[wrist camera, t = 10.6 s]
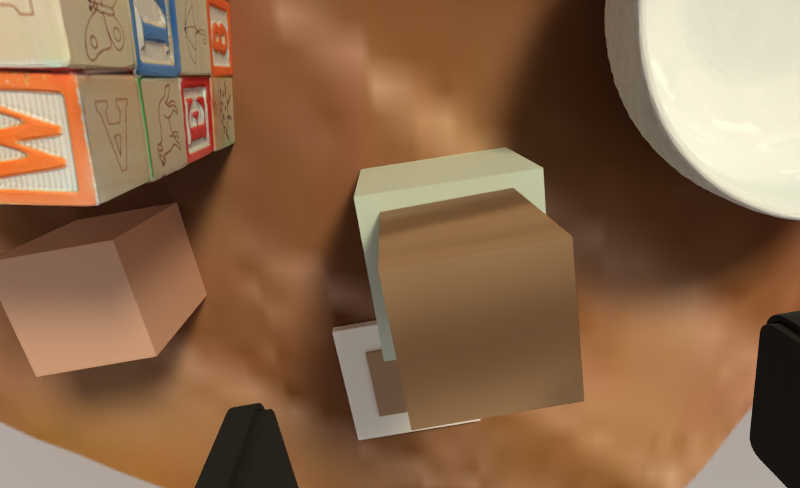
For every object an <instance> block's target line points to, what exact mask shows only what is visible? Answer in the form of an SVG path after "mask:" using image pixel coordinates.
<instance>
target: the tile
mask: <svg viewBox="0 0 800 488" xmlns="http://www.w3.org/2000/svg"><path fill="white" fill-rule="evenodd" d="M332 333H333V337H334V342H335V346H336V350H337V354H338V358H339V362H340V366H341V370H342V375H343V379H344V383H345V387H346V391H347V395H348V399H349V404H350V408H351V412H352V416H353V420H354V424H355V428H356V432H357V437H358V440H364V439H370V438H376V437H382V436H389V435H395V434H401V433H407V432H413V431H419V430H425V429H431V428H437V427H444V426H450V425H456V424H462V423H468V422H474V421H480V419H476V420H470V421H464V422H458V423H452V424H447V425H441V426H435V427H429V428H423V429H417V430H411V426H410V421H409V417H408V412H407V407H406V402H405V397H404V393H403V388H402V383H401V378H400V373H399V369H398V364H397V360H391V361H384V359H383V354H382V348H381V343H380V337H379V332H378V326H377V321H376V320H374V321H369V322H363V323H357V324H351V325H345V326H339V327H333V331H332Z"/></svg>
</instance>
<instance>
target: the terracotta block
mask: <svg viewBox="0 0 800 488" xmlns="http://www.w3.org/2000/svg"><path fill="white" fill-rule="evenodd" d="M206 296H207V294H206V291H205V288H204V285H203V282H202V279H201V276H200V273H199V269H198V266H197V263H196V260H195V257H194V254H193V251H192V248H191V245H190V242H189V239H188V236H187V233H186V229H185V226H184V223H183V220H182V217H181V214H180V211H179V208H178V205H177V202H175V203H170V204H164V205H158V206H153V207H147V208H141V209H136V210H130V211H124V212H119V213H113V214H108V215H102V216H96V217H91V218H85V219H79V220H75V221H73V222H71V223H69V224H67V225H65V226H62V227H60V228H58V229H56V230H54V231H51V232H49V233H47V234H45V235H43V236H40V237H38V238H36V239H34V240H32V241H29V242H27V243H25V244H23V245H21V246H18V247H16V248H14V249H12V250H10V251H7V252H5V253H3V254H1V255H0V301H1V303H2V306H3V308H4V310H5V312H6V314H7V316H8V318H9V320H10V322H11V325H12V327H13V329H14V331H15V333H16V335H17V337H18V339H19V341H20V344H21V346H22V348H23V350H24V352H25V354H26V356H27V358H28V360H29V362H30V365H31V367H32V369H33V371H34V373H35V375H36V377H38V376H44V375H50V374H56V373H62V372H68V371H74V370H80V369H86V368H91V367H97V366H103V365H109V364H115V363H121V362H127V361H133V360H138V359H144V358H150V357H156V356H157V355H158V354H159V353H160V352H161V351H162V349H163V348H164V347H165V346H166V344H167V343H168V342H169V341H170V340H171V338H172V337H173V336H174V335H175V333H176V332H177V331H178V330H179V329H180V327H181V326H182V325H183V324H184V322H185V321H186V320H187V319H188V318H189V316H190V315H191V314H192V313H193V312H194V310H195V309H196V308H197V307H198V305H199V304H200V303H201V302H202V301H203V299H204V298H205V297H206Z"/></svg>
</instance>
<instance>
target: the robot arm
mask: <svg viewBox="0 0 800 488" xmlns="http://www.w3.org/2000/svg"><path fill="white" fill-rule="evenodd" d="M750 442H751V446H752V448H753V450H754V452H755V454H756V455H757V456H758V458H759V459H760V460H761V461H762V462H763V463H764V464H765V465H766V466H767V467H768V468H769V469H770V470H771V471H772V472H773V473H774V474H775V475H776V476H777V477H778V478H779V479H780V481H781V482H782V483H783V484H784V485H785V486H786V487H787V488H800V311H795V312H789V313H783V314H777V315H774V316H771V317H770V318H769V320H768V321H767V324H766V325H764V326H763V327H762V328H761V331H760V338H759V348H758V358H757V368H756V378H755V388H754V398H753V408H752V418H751V428H750ZM195 488H298V485H297V482H296V479H295V476H294V472H293V469H292V466H291V463H290V460H289V457H288V454H287V450H286V447H285V444H284V441H283V438H282V435H281V432H280V429H279V425H278V422H277V419H276V416H275V413H274V411H273V410H272V409H268V410H265V409H264V407H263V405H262V404H260V403H256V404H251V405H245V406H239V407H233V408H230V409H229V410H228V412H227V414H226V416H225V418H224V421H223V423H222V425H221V428H220V430H219V432H218V435H217V437H216V439H215V442H214V444H213V446H212V449H211V451H210V453H209V456H208V458H207V460H206V463H205V465H204V467H203V470H202V472H201V474H200V477H199V479H198V481H197V484H196V486H195Z"/></svg>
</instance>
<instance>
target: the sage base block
mask: <svg viewBox="0 0 800 488" xmlns="http://www.w3.org/2000/svg"><path fill="white" fill-rule="evenodd" d="M509 188H514V189H516V190H517V191H518V192H519V193H520V194H522V195H523V196H524V197H525V198H526V199H528V200H529V201H530V202H531V203H533V204H534V205H535V206H536V207H537V208H539V209H540V210H541V211H542V212H543V213H545V214H546V206H545V189H544V171H543V167H541V166H539V165H537V164H535V163H533V162H532V161H530V160H528V159H526V158H524V157H523V156H521V155H519V154H517V153H515V152H514V151H512V150H510V149H508V148H506V147H503V148H496V149H490V150H483V151H477V152H470V153H464V154H458V155H451V156H445V157H438V158H432V159H425V160H419V161H412V162H406V163H400V164H393V165H387V166H380V167H374V168H367V169H361V171H360V175H359V179H358V182H357V186H356V190H355V194H354V202H355V207H356V212H357V218H358V223H359V229H360V234H361V240H362V245H363V250H364V256H365V261H366V267H367V272H368V278H369V283H370V288H371V294H372V299H373V305H374V310H375V316H376V321H377V326H378V332H379V337H380V343H381V348H382V354H383V359H384V361H391V360H397V359H396V354H395V349H394V345H393V340H392V335H391V330H390V325H389V321H388V316H387V311H386V306H385V301H384V297H383V292H382V287H381V282H380V277H379V273H378V261H379V226H380V212H383V211H388V210H394V209H399V208H405V207H410V206H416V205H421V204H427V203H432V202H438V201H443V200H449V199H454V198H460V197H465V196H470V195H476V194H481V193H487V192H492V191H498V190H503V189H509Z"/></svg>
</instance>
